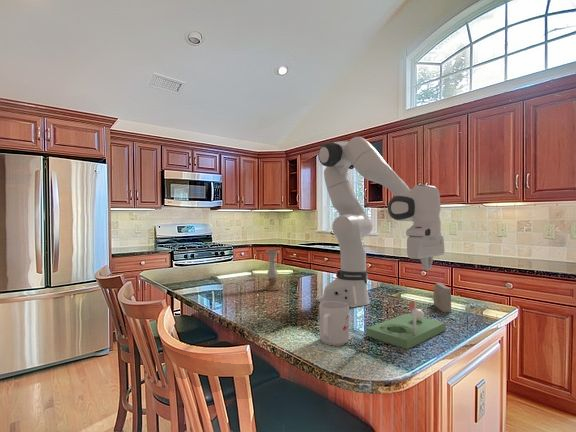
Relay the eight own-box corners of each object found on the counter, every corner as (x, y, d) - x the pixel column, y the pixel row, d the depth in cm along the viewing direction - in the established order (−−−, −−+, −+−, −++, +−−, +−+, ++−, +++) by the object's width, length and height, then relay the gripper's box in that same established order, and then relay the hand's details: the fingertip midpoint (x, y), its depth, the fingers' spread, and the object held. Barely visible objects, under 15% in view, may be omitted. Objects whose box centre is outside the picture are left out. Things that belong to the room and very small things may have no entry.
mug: (325, 334, 106) (325, 299, 106) (352, 339, 101) (352, 303, 101) (310, 347, 95) (310, 308, 95) (339, 353, 91) (339, 313, 91)
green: (406, 320, 120) (406, 286, 120) (445, 330, 109) (445, 292, 109) (366, 335, 104) (366, 296, 104) (407, 349, 93) (407, 305, 93)
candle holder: (262, 291, 168) (262, 251, 169) (266, 287, 177) (266, 249, 177) (279, 291, 167) (279, 251, 167) (282, 287, 176) (282, 250, 176)
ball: (412, 322, 110) (412, 310, 110) (411, 318, 113) (411, 307, 113) (425, 323, 109) (424, 311, 109) (423, 319, 112) (423, 307, 112)
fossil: (452, 312, 129) (452, 288, 130) (442, 312, 130) (442, 288, 130) (441, 304, 141) (441, 282, 141) (433, 304, 142) (433, 282, 142)
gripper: (432, 229, 125) (432, 265, 125) (403, 230, 111) (403, 271, 111) (449, 229, 120) (449, 267, 120) (421, 231, 107) (421, 274, 106)
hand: (426, 269), depth 115 cm, fingers closed
